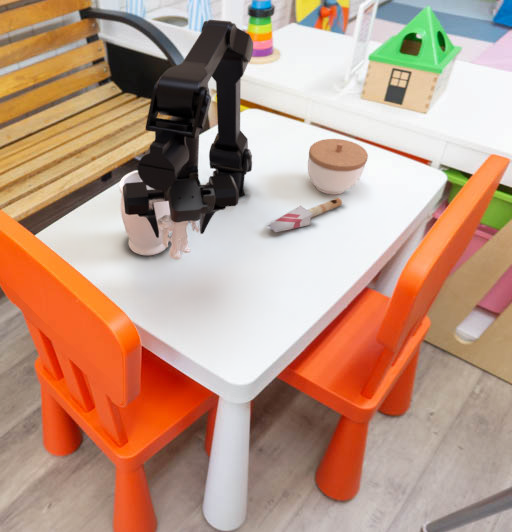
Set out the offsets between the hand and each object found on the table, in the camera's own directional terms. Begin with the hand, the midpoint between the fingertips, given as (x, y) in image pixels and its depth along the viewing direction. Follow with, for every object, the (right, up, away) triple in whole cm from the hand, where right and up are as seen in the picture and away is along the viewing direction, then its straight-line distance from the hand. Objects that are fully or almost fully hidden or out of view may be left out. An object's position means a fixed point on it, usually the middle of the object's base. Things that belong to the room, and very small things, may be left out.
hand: (179, 234), depth 93 cm
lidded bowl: (+38, +13, +32) cm, 51 cm away
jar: (-5, -1, +18) cm, 19 cm away
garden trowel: (+29, +4, +22) cm, 37 cm away
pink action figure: (0, -3, +3) cm, 4 cm away
